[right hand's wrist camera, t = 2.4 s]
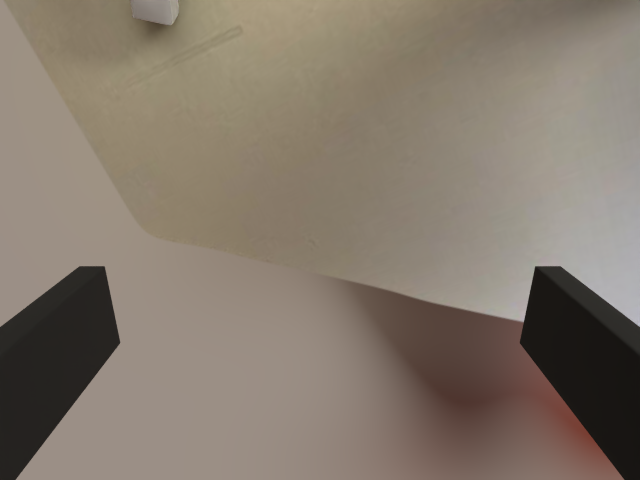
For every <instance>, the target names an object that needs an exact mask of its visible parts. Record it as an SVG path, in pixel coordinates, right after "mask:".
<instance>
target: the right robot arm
mask: <svg viewBox="0 0 640 480" xmlns="http://www.w3.org/2000/svg"><path fill="white" fill-rule="evenodd" d="M119 344H120V339H119V334H118V329H117V325H116V320H115V315H114V310H113V305H112V300H111V295H110V290H109V286H108V281H107V276H106V271H105V267H104V266H80V267H78V268H77V269H76V270H74V271H73V272H72V273H70V274H69V275H68V276H66V277H65V278H64V279H62V280H61V281H60V282H59V283H57V284H56V285H55V286H53V287H52V288H51V289H49V290H48V291H47V292H45V293H44V294H43V295H42V296H40V297H39V298H38V299H36V300H35V301H34V302H32V303H31V304H30V305H29V306H27V307H26V308H25V309H23V310H22V311H21V312H20V313H18V314H17V315H15V316H14V317H13V318H12V319H10V320H9V321H8V322H6V323H5V324H4V325H3V326H1V327H0V480H16V478H17V477H18V476H19V474H20V473H21V472H22V471H23V469H24V468H25V467H26V465H27V464H28V463H29V461H30V460H31V459H32V457H33V456H34V455H35V454H36V452H37V451H38V450H39V448H40V447H41V446H42V444H43V443H44V442H45V440H46V439H47V438H48V437H49V435H50V434H51V433H52V431H53V430H54V429H55V427H56V426H57V425H58V424H59V422H60V421H61V420H62V418H63V417H64V416H65V414H66V413H67V412H68V410H69V409H70V408H71V407H72V405H73V404H74V403H75V401H76V400H77V399H78V397H79V396H80V395H81V393H82V392H83V391H84V390H85V388H86V387H87V386H88V384H89V383H90V382H91V380H92V379H93V378H94V377H95V375H96V374H97V373H98V371H99V370H100V369H101V367H102V366H103V365H104V363H105V362H106V361H107V360H108V358H109V357H110V356H111V354H112V353H113V352H114V350H115V349H116V348H117V346H118V345H119ZM520 344H521V345H522V346H523V348H524V349H525V350H526V352H527V353H528V354H529V356H530V357H531V358H532V360H533V361H534V362H535V363H536V365H537V366H538V367H539V369H540V370H541V371H542V373H543V374H544V375H545V377H546V378H547V379H548V380H549V382H550V383H551V384H552V386H553V387H554V388H555V390H556V391H557V392H558V393H559V395H560V396H561V397H562V399H563V400H564V401H565V403H566V404H567V405H568V406H569V408H570V409H571V410H572V412H573V413H574V414H575V416H576V417H577V418H578V420H579V421H580V422H581V424H582V425H583V426H584V427H585V429H586V430H587V431H588V433H589V434H590V435H591V437H592V438H593V439H594V440H595V442H596V443H597V444H598V446H599V447H600V448H601V450H602V451H603V452H604V454H605V455H606V456H607V457H608V459H609V460H610V461H611V463H612V464H613V465H614V467H615V468H616V469H617V471H618V472H619V473H620V474H621V476H622V477H623V478H624V480H640V327H639V326H638V325H636V324H635V323H634V322H632V321H631V320H630V319H628V318H627V317H626V316H625V315H623V314H622V313H621V312H619V311H618V310H617V309H615V308H614V307H613V306H611V305H610V304H609V303H608V302H606V301H605V300H604V299H602V298H601V297H600V296H598V295H597V294H596V293H595V292H593V291H592V290H591V289H589V288H588V287H587V286H585V285H584V284H583V283H581V282H580V281H579V280H578V279H576V278H575V277H574V276H572V275H571V274H570V273H568V272H567V271H566V270H565V269H563V268H562V267H561V266H535V271H534V276H533V280H532V285H531V290H530V295H529V300H528V305H527V310H526V315H525V320H524V325H523V329H522V334H521V339H520Z"/></svg>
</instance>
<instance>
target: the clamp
mask: <svg viewBox="0 0 640 480" xmlns="http://www.w3.org/2000/svg"><path fill="white" fill-rule="evenodd" d="M130 3H131V8H132V13H133V16H132V17H134V18H136V19H141V20H146V21H151V22H155V23H160V24H165V25H172V24H173V23H174V21H175V19H176V18H177V16H178V14H179V4H178V0H130Z"/></svg>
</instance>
